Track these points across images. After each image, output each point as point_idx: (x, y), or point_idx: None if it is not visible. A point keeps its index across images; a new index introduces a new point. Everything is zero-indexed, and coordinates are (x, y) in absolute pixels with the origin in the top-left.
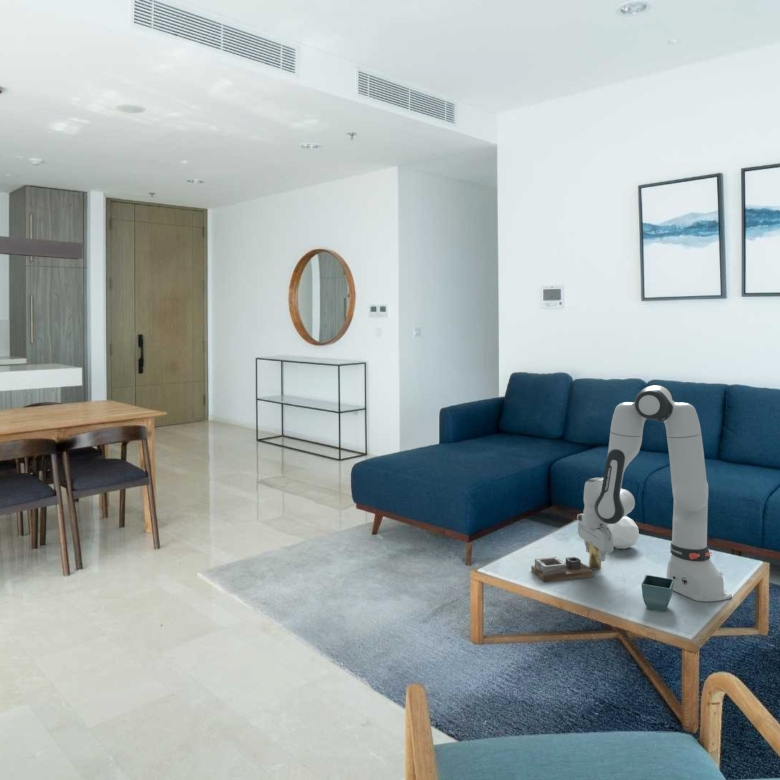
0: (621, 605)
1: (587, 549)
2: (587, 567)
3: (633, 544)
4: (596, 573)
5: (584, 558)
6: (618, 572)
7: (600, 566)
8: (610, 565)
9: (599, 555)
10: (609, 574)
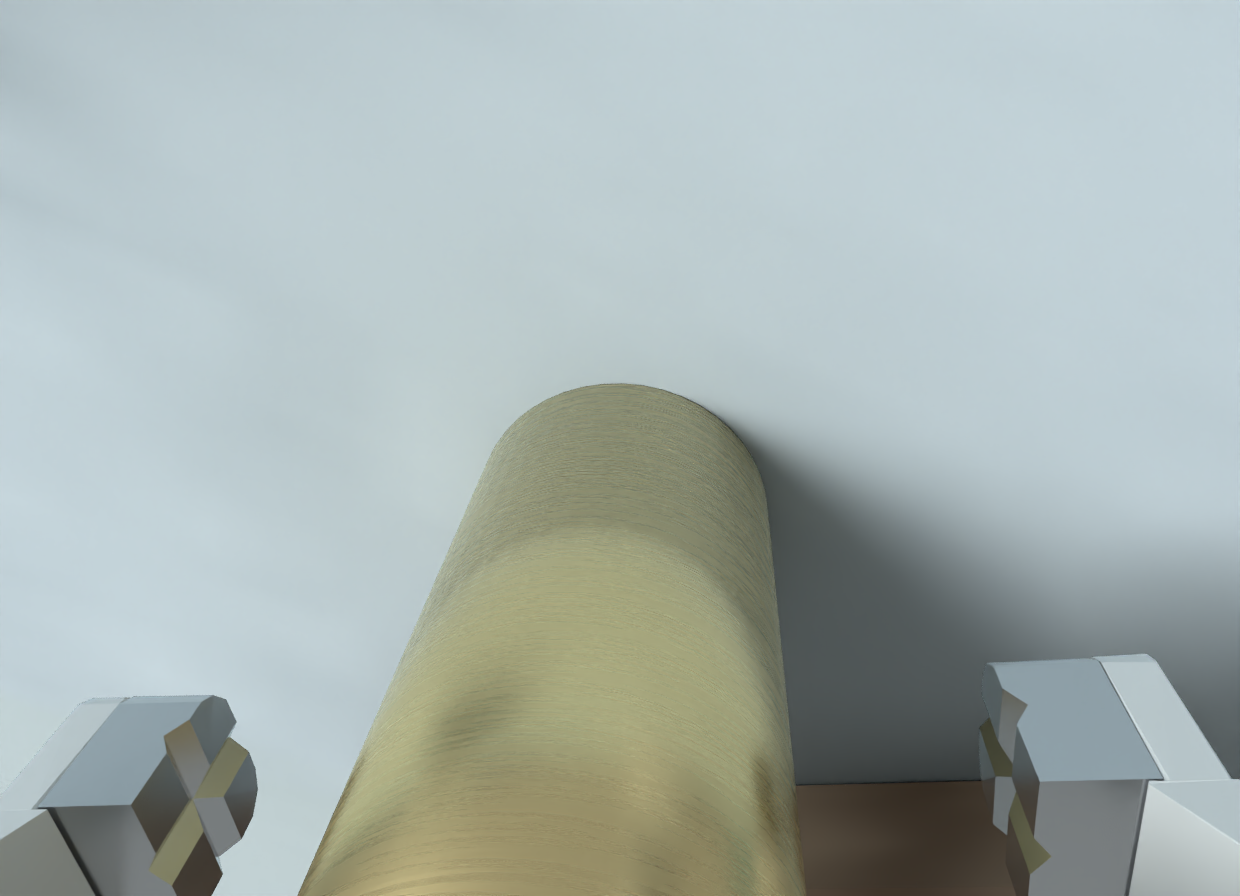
0: None
1: (199, 892)
2: (960, 890)
3: None
4: (1031, 640)
5: (21, 515)
6: (1198, 47)
7: (727, 449)
8: (552, 44)
9: (1029, 892)
10: (1225, 385)
